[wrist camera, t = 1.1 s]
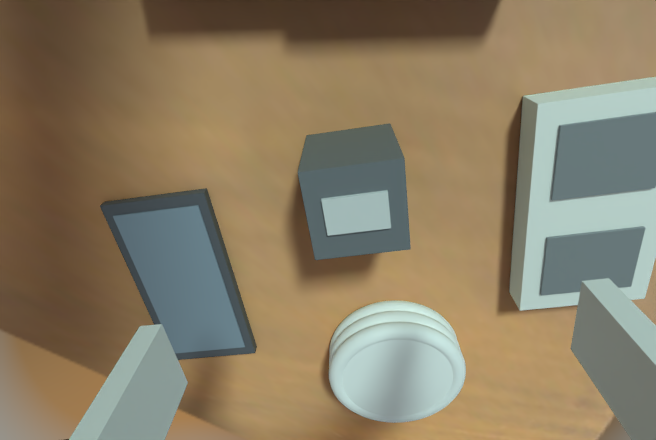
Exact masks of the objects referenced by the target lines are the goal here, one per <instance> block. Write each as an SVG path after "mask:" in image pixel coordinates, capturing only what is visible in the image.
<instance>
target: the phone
mask: <svg viewBox="0 0 656 440" xmlns="http://www.w3.org/2000/svg"><path fill="white" fill-rule="evenodd" d="M100 207H101V209H102V212H103V214H104V216H105V218H106V220H107V222H108V225H109V227H110V229H111V231H112V233H113V235H114V238H115V240H116V242H117V244H118V246H119V249H120V251H121V253H122V255H123V257H124V259H125V262H126V264H127V266H128V268H129V270H130V273H131V275H132V277H133V279H134V281H135V283H136V286H137V288H138V290H139V292H140V294H141V296H142V299H143V301H144V303H145V305H146V307H147V310H148V312H149V314H150V316H151V318H152V320H153V323H154V325H157V324H162V325H163V327H164V330H165V332H166V334H167V337H168V339H169V341H170V343H171V346H172V348H173V350H174V352H175V355H176V357H177V359H178V360H181V359H192V358H203V357H215V356H226V355H237V354H249V353H255V352H256V348H257V346H256V343H255V339H254V336H253V333H252V330H251V327H250V324H249V320H248V317H247V314H246V311H245V308H244V305H243V301H242V298H241V295H240V292H239V289H238V286H237V282H236V279H235V276H234V273H233V270H232V267H231V263H230V260H229V257H228V254H227V251H226V248H225V244H224V241H223V238H222V235H221V232H220V229H219V225H218V222H217V219H216V216H215V213H214V210H213V206H212V203H211V200H210V197H209V194H208V191H207V188H206V189H198V190H191V191H183V192H175V193H168V194H160V195H153V196H145V197H137V198H130V199H122V200H114V201H107V202H104V203H103V204H102V205H100Z"/></svg>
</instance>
